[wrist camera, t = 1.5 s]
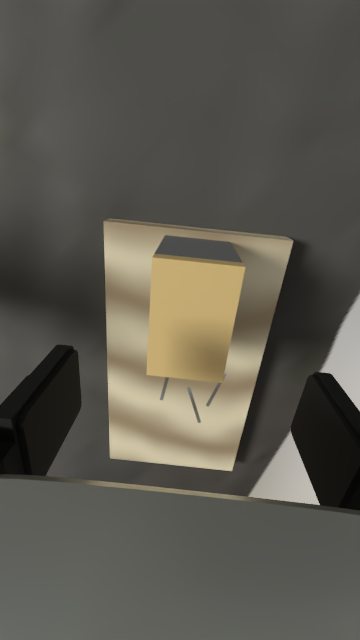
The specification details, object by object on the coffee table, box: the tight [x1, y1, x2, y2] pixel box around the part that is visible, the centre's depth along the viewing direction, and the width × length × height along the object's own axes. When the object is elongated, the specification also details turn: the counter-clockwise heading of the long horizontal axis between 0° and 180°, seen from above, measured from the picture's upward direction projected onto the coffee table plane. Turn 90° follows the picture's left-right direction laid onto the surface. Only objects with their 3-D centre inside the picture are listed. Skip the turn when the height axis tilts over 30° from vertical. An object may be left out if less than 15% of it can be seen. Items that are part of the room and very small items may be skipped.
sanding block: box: [146, 235, 245, 383], centre depth 18 cm, size 7×4×6 cm, turn 175°
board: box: [104, 218, 293, 471], centre depth 25 cm, size 24×13×2 cm, turn 175°
